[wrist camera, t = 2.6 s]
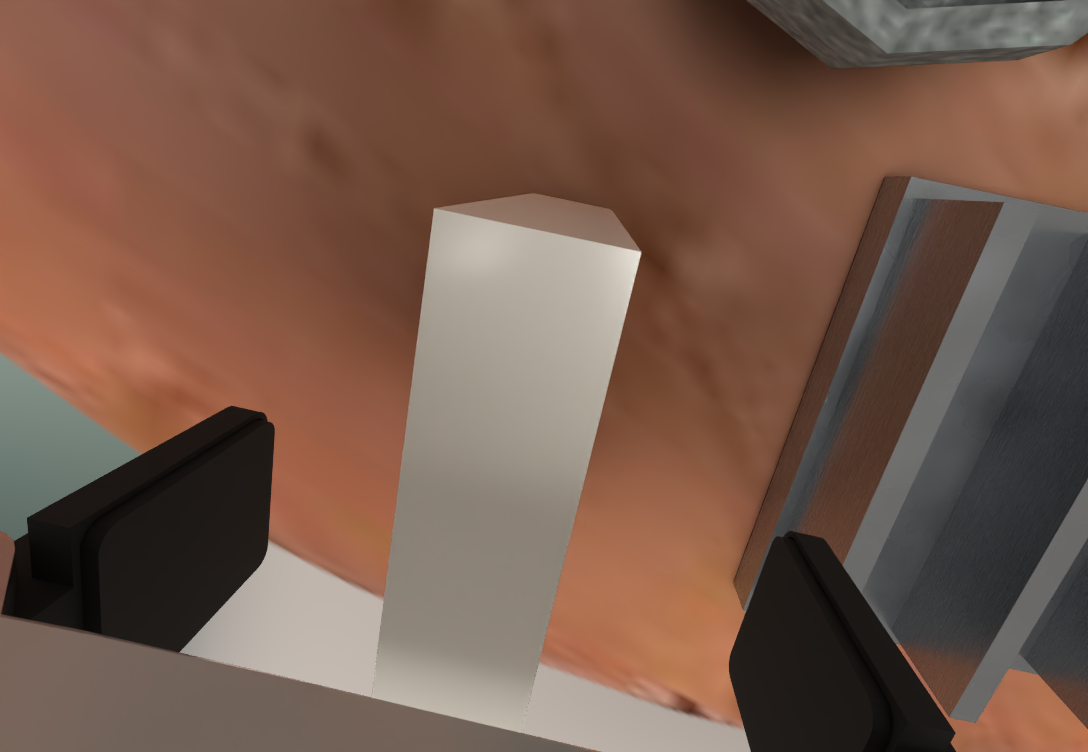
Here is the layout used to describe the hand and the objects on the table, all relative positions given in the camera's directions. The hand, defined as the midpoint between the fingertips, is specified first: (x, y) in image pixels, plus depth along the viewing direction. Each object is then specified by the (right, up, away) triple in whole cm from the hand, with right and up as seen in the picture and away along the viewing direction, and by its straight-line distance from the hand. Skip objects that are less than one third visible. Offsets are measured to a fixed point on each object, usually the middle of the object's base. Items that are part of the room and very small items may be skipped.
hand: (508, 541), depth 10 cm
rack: (+17, 0, +9) cm, 19 cm away
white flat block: (+1, +4, +9) cm, 10 cm away
